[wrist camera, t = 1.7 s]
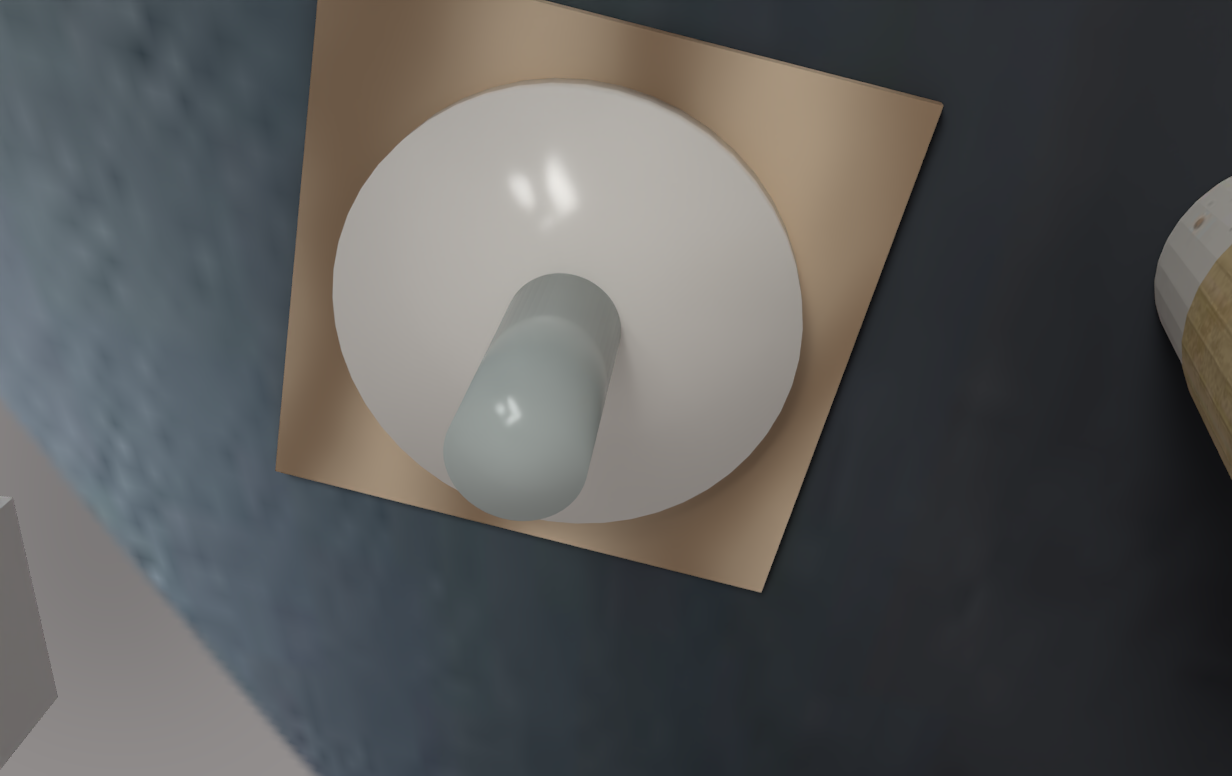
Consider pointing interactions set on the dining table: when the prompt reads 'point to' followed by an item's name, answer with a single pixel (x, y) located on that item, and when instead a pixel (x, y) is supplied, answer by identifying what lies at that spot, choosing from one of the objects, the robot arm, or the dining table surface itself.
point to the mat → (679, 75)
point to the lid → (569, 301)
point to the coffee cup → (1202, 308)
